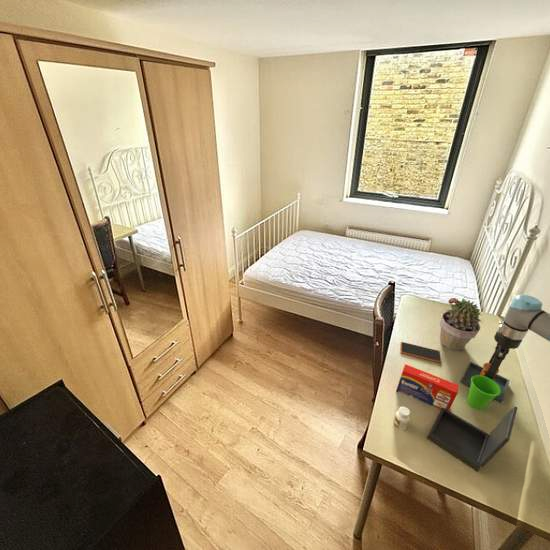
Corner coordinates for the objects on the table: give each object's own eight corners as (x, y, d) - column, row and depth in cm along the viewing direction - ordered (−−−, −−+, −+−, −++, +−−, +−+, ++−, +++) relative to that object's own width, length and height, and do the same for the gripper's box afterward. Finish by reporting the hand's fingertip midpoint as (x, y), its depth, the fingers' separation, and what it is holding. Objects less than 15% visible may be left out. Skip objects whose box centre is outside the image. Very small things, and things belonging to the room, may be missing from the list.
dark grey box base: (426, 439, 97) (428, 433, 95) (439, 413, 106) (442, 407, 104) (476, 473, 88) (480, 467, 87) (486, 441, 97) (490, 435, 95)
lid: (506, 438, 78) (509, 440, 78) (514, 405, 87) (517, 407, 87) (479, 465, 87) (482, 467, 86) (489, 433, 95) (492, 435, 95)
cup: (494, 415, 105) (507, 395, 100) (469, 415, 105) (481, 395, 100) (479, 394, 113) (490, 374, 108) (456, 394, 113) (466, 374, 108)
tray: (507, 383, 118) (509, 380, 117) (501, 404, 110) (503, 400, 109) (468, 364, 126) (470, 361, 125) (459, 382, 118) (461, 378, 117)
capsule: (492, 381, 118) (500, 367, 114) (489, 389, 115) (497, 375, 111) (478, 374, 121) (485, 360, 117) (474, 381, 118) (482, 367, 114)
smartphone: (400, 342, 138) (400, 341, 137) (439, 352, 133) (439, 350, 132) (400, 353, 132) (400, 351, 131) (441, 363, 127) (441, 362, 126)
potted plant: (486, 353, 133) (508, 308, 120) (449, 360, 129) (469, 314, 116) (456, 328, 148) (473, 286, 136) (423, 333, 144) (437, 291, 132)
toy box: (448, 406, 108) (458, 384, 103) (447, 414, 105) (457, 392, 100) (398, 384, 117) (404, 363, 111) (395, 391, 114) (402, 370, 108)
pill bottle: (391, 418, 103) (396, 404, 100) (403, 419, 103) (408, 405, 99) (395, 430, 100) (400, 416, 96) (408, 431, 99) (413, 417, 96)
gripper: (504, 314, 115) (484, 354, 126) (490, 346, 100) (469, 388, 110) (527, 323, 111) (505, 363, 121) (517, 357, 95) (492, 400, 106)
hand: (487, 375), depth 116 cm, fingers open, 13 cm apart
